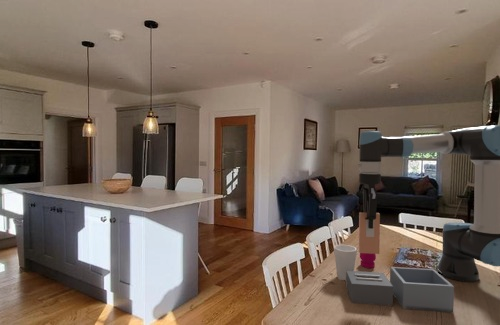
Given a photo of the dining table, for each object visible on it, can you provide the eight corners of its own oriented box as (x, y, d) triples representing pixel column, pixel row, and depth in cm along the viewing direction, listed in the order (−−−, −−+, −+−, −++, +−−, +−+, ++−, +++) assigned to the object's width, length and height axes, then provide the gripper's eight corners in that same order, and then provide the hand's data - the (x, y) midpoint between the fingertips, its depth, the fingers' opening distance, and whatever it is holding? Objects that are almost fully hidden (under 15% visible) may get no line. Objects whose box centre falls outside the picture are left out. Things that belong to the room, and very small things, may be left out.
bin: (433, 292, 117) (434, 269, 116) (453, 312, 102) (454, 286, 102) (389, 289, 119) (390, 266, 119) (403, 308, 104) (403, 283, 104)
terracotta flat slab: (378, 252, 113) (378, 212, 112) (379, 253, 111) (379, 213, 111) (358, 251, 114) (359, 212, 113) (359, 253, 112) (360, 213, 112)
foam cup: (338, 271, 137) (339, 243, 136) (359, 276, 131) (359, 247, 130) (330, 278, 129) (330, 248, 129) (351, 284, 123) (351, 253, 123)
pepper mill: (377, 269, 140) (377, 226, 139) (360, 267, 141) (361, 225, 140) (374, 263, 147) (374, 222, 146) (358, 262, 148) (359, 222, 147)
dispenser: (382, 290, 118) (383, 271, 118) (392, 305, 106) (393, 284, 106) (346, 287, 120) (346, 269, 120) (351, 302, 108) (351, 282, 108)
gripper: (355, 171, 119) (355, 230, 120) (363, 174, 105) (363, 241, 106) (375, 171, 118) (374, 231, 119) (386, 174, 104) (385, 242, 105)
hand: (369, 235), depth 112 cm, fingers closed on terracotta flat slab, 2 cm apart
